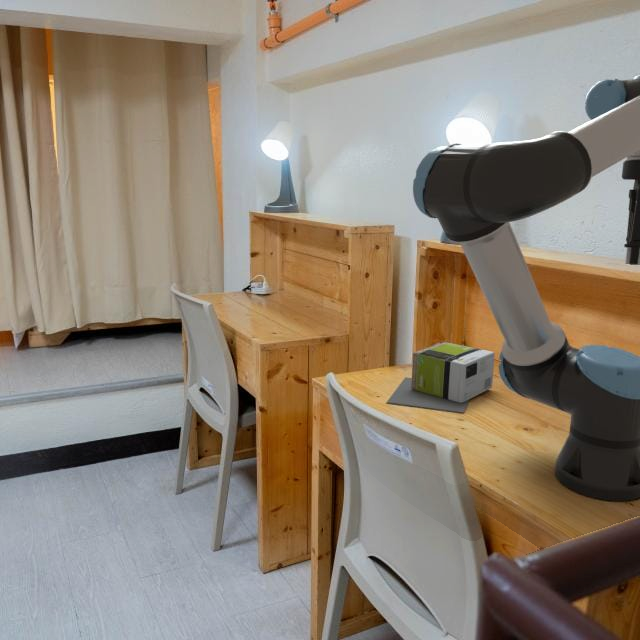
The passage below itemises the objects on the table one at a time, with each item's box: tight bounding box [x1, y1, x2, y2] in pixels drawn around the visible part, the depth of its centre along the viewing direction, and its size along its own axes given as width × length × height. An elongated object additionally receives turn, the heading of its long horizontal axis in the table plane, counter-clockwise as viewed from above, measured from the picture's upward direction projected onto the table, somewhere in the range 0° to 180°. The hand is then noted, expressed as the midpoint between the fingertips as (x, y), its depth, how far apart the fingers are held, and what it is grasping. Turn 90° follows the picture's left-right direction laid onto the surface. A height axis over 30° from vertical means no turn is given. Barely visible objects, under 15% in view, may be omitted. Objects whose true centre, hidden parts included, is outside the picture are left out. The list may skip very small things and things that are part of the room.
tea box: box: [411, 341, 495, 403], centre depth 157 cm, size 15×10×15 cm
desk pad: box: [386, 377, 470, 414], centre depth 155 cm, size 20×18×1 cm
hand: (630, 279), depth 127 cm, fingers closed
